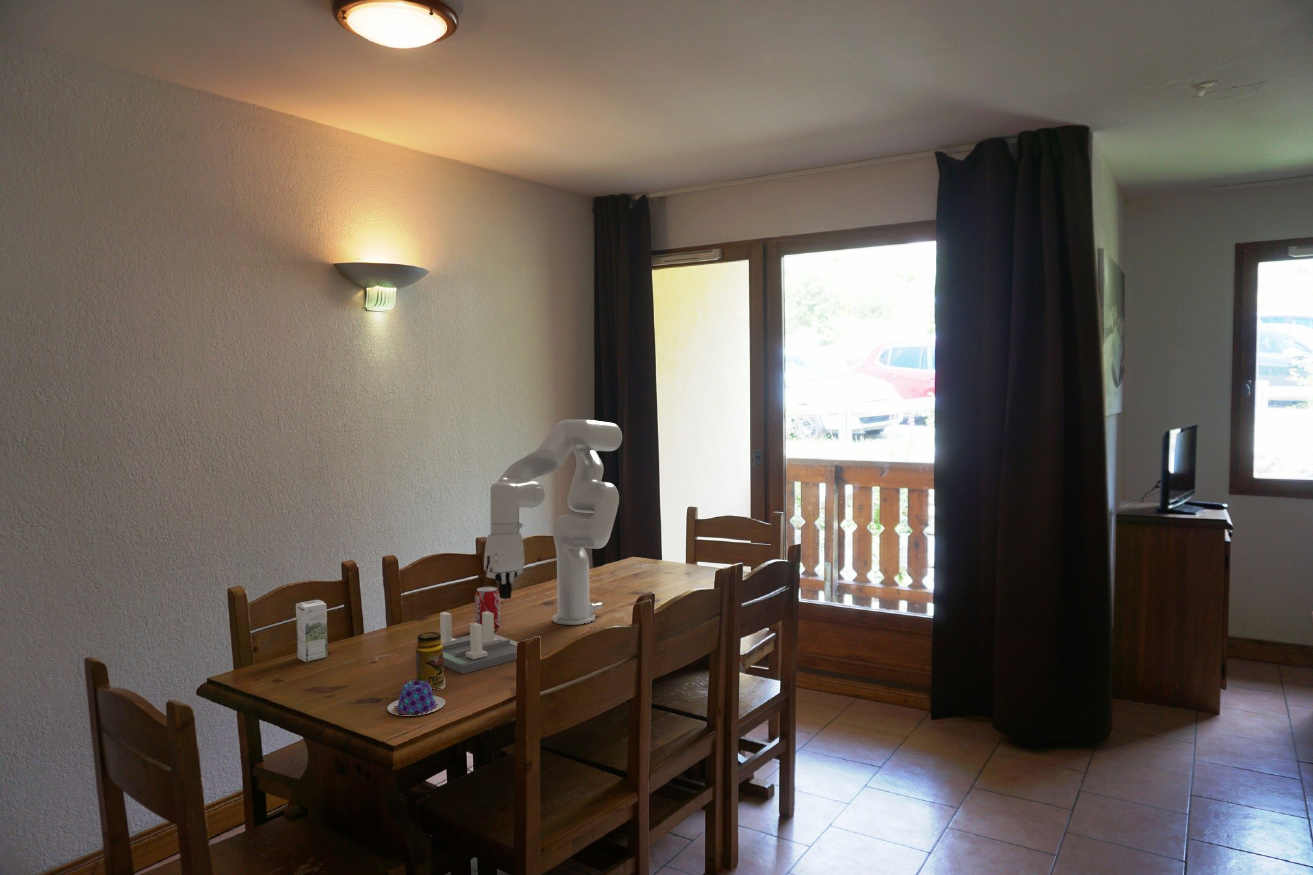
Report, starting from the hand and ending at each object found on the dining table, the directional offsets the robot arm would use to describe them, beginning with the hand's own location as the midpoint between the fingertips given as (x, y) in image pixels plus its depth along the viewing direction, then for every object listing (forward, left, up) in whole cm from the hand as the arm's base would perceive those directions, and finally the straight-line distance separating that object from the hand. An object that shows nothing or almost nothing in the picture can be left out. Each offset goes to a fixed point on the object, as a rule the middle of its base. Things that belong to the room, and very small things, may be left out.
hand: (505, 597), depth 222 cm
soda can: (-6, -18, -14) cm, 23 cm away
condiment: (+29, +12, -14) cm, 34 cm away
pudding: (+38, +23, -14) cm, 46 cm away
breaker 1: (+13, -8, -11) cm, 19 cm away
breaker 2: (+13, +7, -11) cm, 19 cm away
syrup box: (+40, -28, -14) cm, 51 cm away
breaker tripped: (+5, 0, -11) cm, 12 cm away
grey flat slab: (+9, 0, -13) cm, 16 cm away
